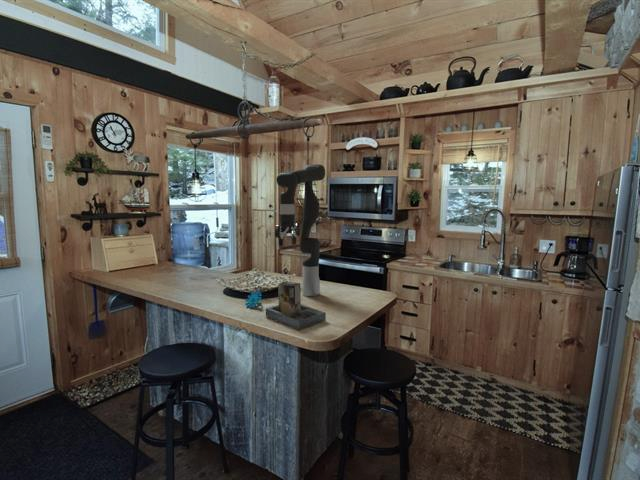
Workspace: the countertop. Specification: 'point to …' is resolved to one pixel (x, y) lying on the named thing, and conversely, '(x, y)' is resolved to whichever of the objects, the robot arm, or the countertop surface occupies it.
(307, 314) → the gray rectangular frame
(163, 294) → the countertop surface
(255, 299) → the gear
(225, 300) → the countertop surface
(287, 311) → the coffee box
